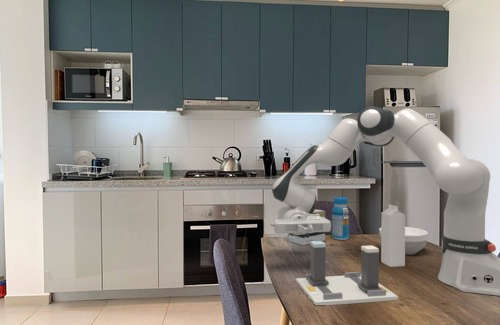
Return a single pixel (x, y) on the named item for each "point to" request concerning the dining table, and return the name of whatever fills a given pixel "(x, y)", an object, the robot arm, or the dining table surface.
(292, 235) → the tea box
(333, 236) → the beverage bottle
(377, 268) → the grey post on base
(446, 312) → the dining table surface
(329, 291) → the twin pillar base
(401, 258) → the milk
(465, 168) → the robot arm
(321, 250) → the grey capped post
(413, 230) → the bowl
